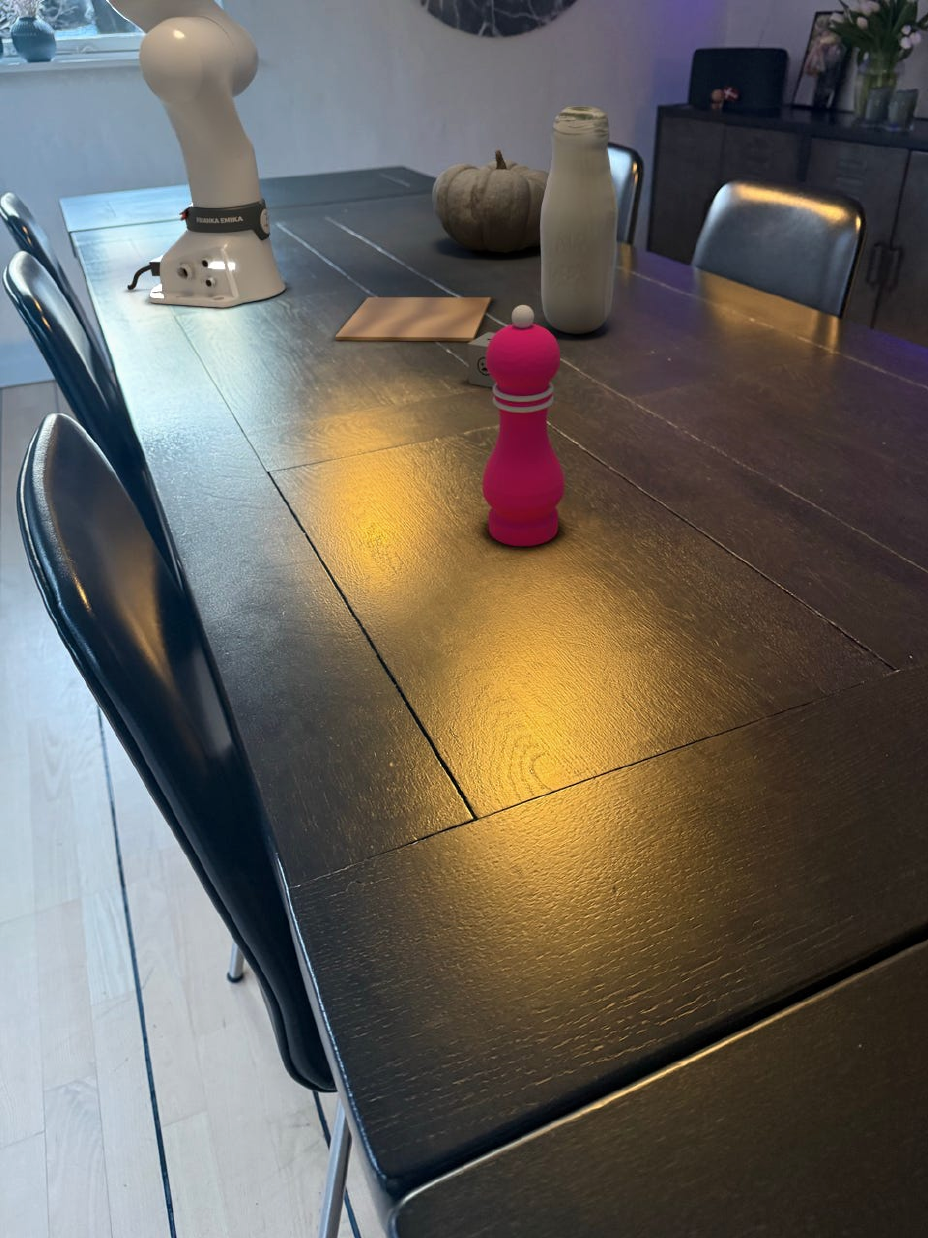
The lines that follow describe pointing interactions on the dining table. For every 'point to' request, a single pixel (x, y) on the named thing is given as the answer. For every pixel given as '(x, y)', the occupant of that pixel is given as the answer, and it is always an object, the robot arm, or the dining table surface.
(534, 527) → the pepper mill
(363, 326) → the brown wooden board
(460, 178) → the gourd
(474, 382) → the grey emoticon cube
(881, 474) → the dining table surface
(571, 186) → the glass bottle
